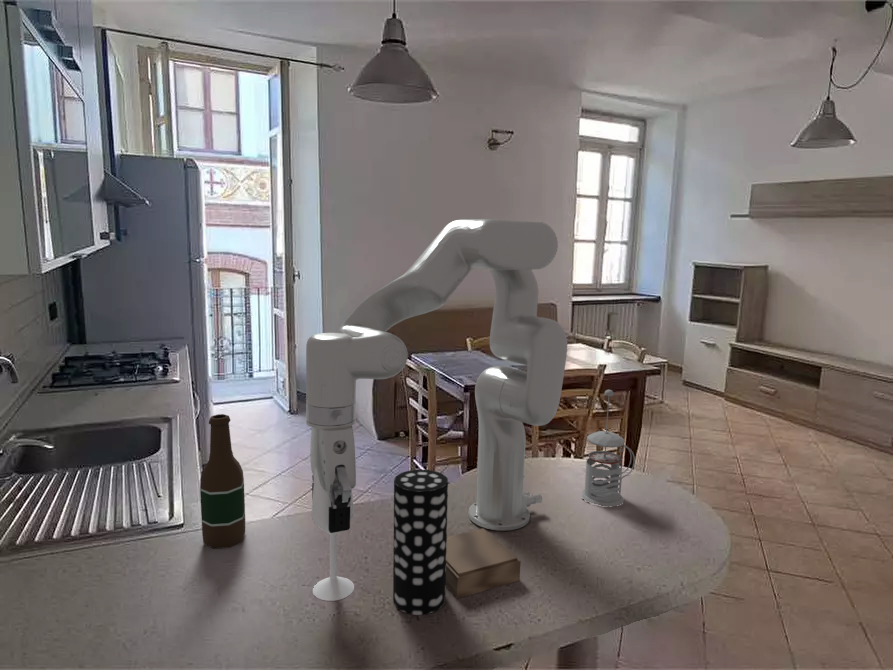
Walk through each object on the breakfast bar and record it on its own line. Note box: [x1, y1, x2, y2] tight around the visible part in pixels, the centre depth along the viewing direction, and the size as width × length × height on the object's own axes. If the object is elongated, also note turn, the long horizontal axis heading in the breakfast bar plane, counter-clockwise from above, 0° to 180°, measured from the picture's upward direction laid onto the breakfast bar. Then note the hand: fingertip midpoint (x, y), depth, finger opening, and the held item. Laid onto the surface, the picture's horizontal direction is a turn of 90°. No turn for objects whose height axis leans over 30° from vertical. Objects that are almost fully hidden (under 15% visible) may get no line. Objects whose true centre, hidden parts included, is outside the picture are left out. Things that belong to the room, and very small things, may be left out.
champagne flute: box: [310, 468, 355, 602], centre depth 94 cm, size 7×7×24 cm
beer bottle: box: [199, 413, 246, 550], centre depth 108 cm, size 8×8×24 cm
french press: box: [581, 389, 636, 507], centre depth 130 cm, size 10×12×25 cm
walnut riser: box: [446, 527, 522, 599], centre depth 101 cm, size 12×12×4 cm
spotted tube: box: [392, 469, 449, 616], centre depth 92 cm, size 8×8×20 cm
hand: (330, 517), depth 93 cm, fingers open, 9 cm apart
